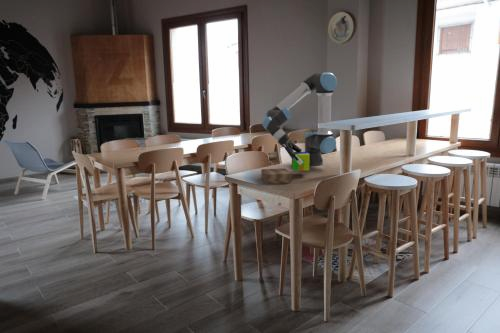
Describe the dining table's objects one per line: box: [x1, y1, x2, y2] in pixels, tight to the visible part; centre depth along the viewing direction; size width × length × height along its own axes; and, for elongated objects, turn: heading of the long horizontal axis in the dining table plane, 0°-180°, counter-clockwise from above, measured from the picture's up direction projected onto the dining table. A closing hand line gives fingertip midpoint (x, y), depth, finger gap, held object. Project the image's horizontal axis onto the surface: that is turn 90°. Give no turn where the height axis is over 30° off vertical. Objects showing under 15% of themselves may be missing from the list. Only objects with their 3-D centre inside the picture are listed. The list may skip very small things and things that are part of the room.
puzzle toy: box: [291, 151, 310, 171], centre depth 252 cm, size 10×10×10 cm
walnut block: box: [260, 167, 292, 185], centre depth 240 cm, size 15×15×6 cm
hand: (304, 161), depth 251 cm, fingers closed on puzzle toy, 12 cm apart
